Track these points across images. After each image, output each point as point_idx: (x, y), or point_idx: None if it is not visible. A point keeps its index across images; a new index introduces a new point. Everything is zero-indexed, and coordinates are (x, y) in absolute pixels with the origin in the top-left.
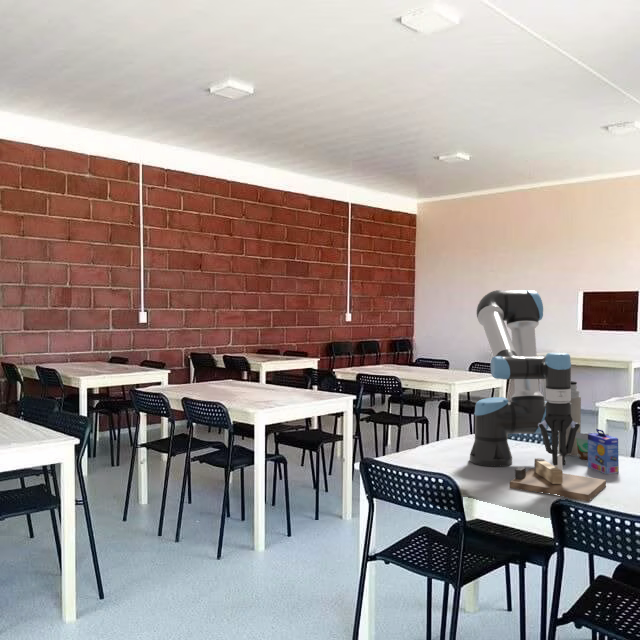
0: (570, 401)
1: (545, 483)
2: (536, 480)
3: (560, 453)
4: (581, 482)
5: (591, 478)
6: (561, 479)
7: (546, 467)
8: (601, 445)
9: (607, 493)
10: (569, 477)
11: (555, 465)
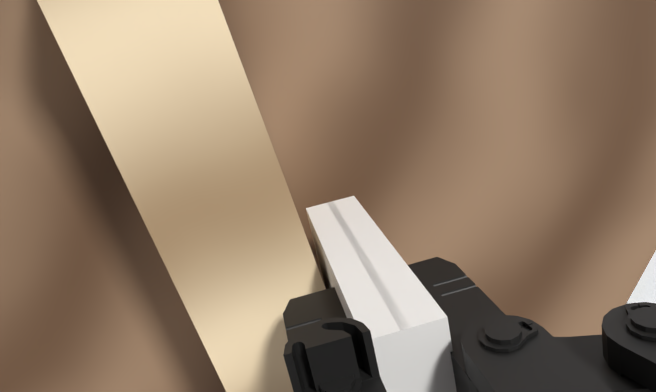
0: None
1: (191, 359)
2: (95, 283)
3: (464, 389)
4: (526, 218)
5: (654, 37)
6: None
7: (194, 323)
8: None
9: (650, 265)
10: (451, 53)
11: (323, 250)
